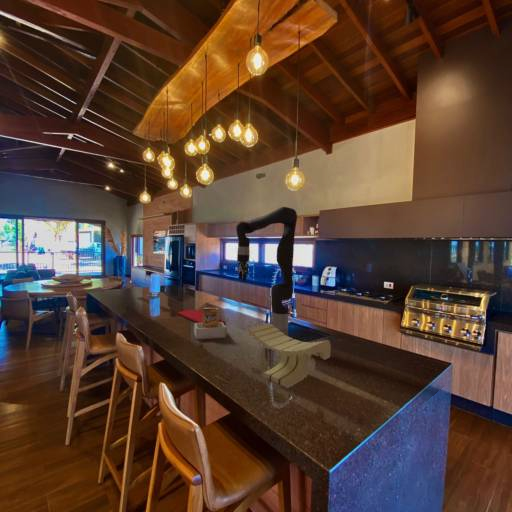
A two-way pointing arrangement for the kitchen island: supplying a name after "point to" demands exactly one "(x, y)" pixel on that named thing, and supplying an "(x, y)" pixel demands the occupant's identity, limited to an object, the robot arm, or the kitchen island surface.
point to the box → (209, 331)
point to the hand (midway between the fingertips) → (242, 280)
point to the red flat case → (195, 315)
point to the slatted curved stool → (288, 354)
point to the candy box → (210, 317)
